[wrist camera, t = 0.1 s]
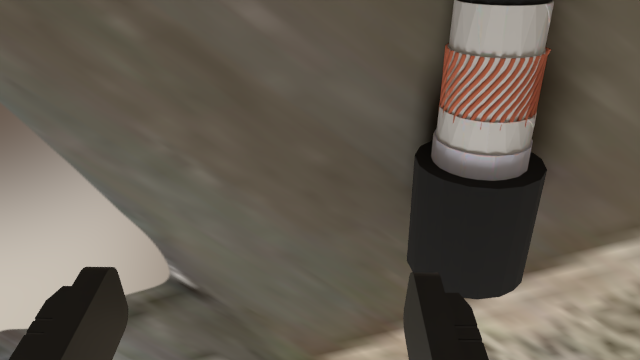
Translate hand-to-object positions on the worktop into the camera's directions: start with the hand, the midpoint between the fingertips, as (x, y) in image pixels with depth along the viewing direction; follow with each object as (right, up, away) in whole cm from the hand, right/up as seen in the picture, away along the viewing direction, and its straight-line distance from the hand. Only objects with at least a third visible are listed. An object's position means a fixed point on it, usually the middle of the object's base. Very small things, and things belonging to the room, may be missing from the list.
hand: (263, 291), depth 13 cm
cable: (+14, +13, +26) cm, 33 cm away
